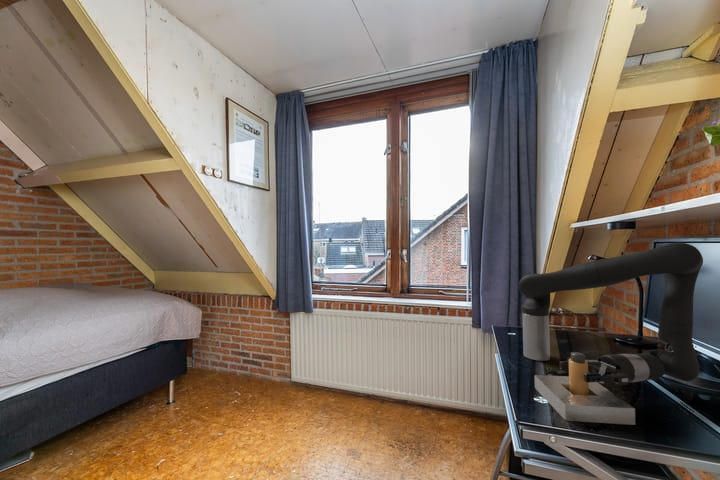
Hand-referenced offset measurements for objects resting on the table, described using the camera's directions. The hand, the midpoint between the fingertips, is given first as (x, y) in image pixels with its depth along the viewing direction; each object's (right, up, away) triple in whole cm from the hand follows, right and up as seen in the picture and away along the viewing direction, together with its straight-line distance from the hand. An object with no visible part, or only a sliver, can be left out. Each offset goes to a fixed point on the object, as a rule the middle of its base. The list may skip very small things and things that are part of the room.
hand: (572, 371), depth 85 cm
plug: (+2, -9, 0) cm, 9 cm away
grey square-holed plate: (+2, -9, 0) cm, 9 cm away
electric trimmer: (+10, -10, +18) cm, 23 cm away
